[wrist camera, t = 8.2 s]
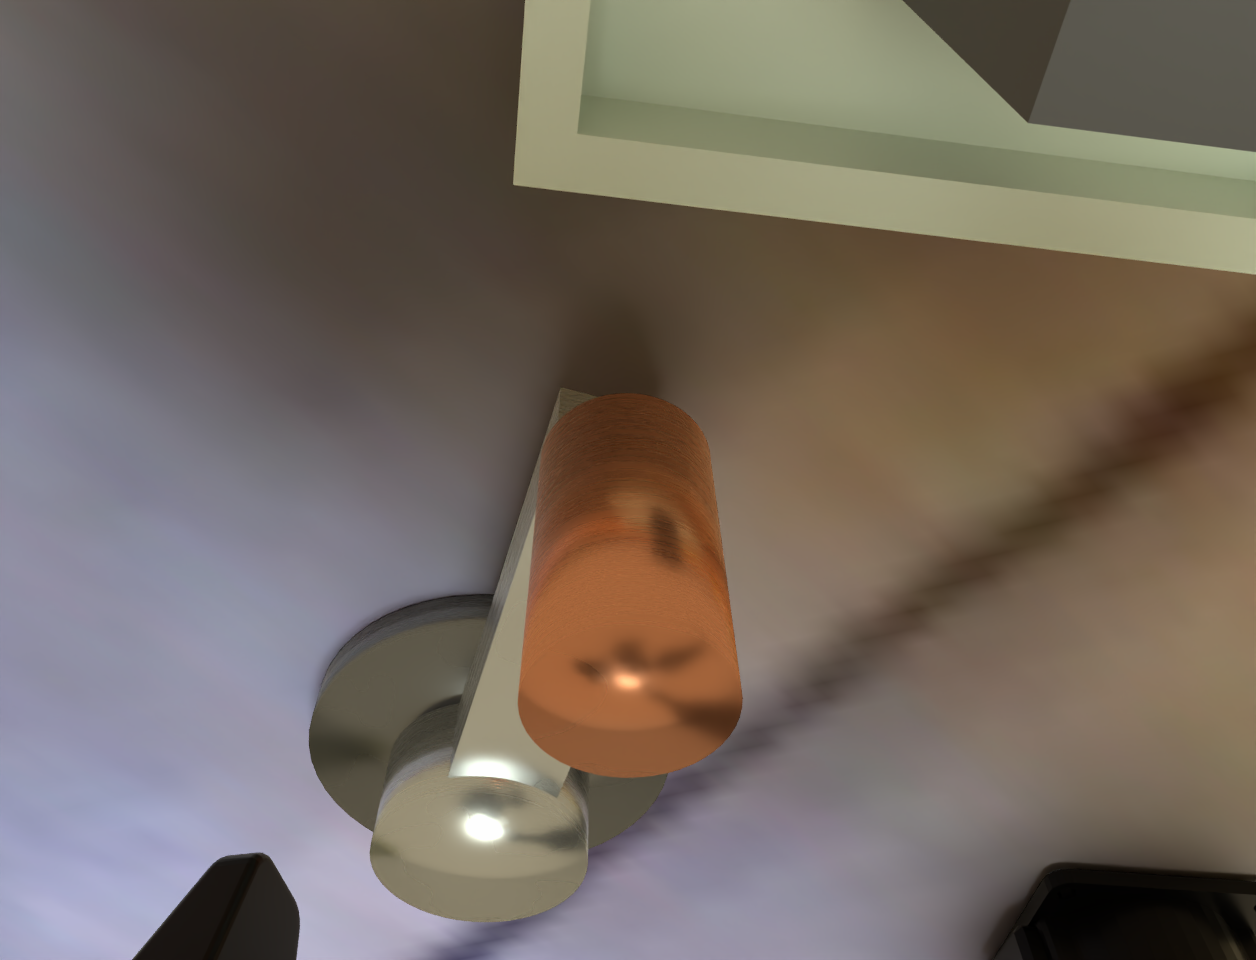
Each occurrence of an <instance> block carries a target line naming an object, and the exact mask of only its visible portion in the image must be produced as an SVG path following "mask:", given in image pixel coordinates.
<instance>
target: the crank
mask: <svg viewBox="0 0 1256 960" xmlns="http://www.w3.org/2000/svg"><path fill="white" fill-rule="evenodd" d="M742 699H743V697H742V690H741V682H740V675H739V667H738V660H737V652H736V645H735V638H734V630H733V623H732V615H731V608H730V600H729V593H728V585H727V578H726V570H725V563H724V555H723V548H722V540H721V533H720V525H719V518H718V510H717V503H716V495H715V488H714V480H713V473H712V465H711V458H710V450H709V447H708V443H707V440H706V438H705V436H704V434H703V432H702V431H701V429H700V428H699V426H698V425H697V424H696V423H695V422H694V420H693V419H692V418H691V417H690V416H688V415H687V414H686V413H685V412H684V411H682V410H681V409H679V408H678V407H676V406H674V405H673V404H671V403H669V402H666V401H664V400H662V399H659V398H656V397H652V396H648V395H643V394H633V393H617V394H610V395H604V396H601V397H598V396H594V395H590V394H586V393H582V392H578V391H574V390H571V389H567V388H563V387H561V388H560V391H559V394H558V397H557V400H556V403H555V407H554V410H553V413H552V416H551V419H550V422H549V425H548V428H547V432H546V435H545V438H544V441H543V444H542V447H541V450H540V453H539V457H538V460H537V463H536V466H535V469H534V472H533V475H532V479H531V482H530V485H529V488H528V491H527V494H526V497H525V500H524V504H523V507H522V510H521V513H520V516H519V519H518V522H517V525H516V529H515V532H514V535H513V538H512V541H511V544H510V547H509V551H508V554H507V557H506V560H505V563H504V566H503V569H502V572H501V576H500V579H499V582H498V585H497V588H496V591H495V594H494V597H493V601H492V604H491V607H490V610H489V613H488V616H487V619H486V622H485V626H484V629H483V632H482V635H481V638H480V641H479V644H478V648H477V651H476V654H475V657H474V660H473V663H472V666H471V669H470V673H469V676H468V679H467V682H466V685H465V688H464V691H463V694H462V698H461V701H460V703H459V704H454V705H450V706H445V707H442V708H439V709H436V710H433V711H431V712H429V713H427V714H425V715H423V716H421V717H419V718H418V719H416V720H414V721H413V722H412V723H411V724H409V725H408V726H407V727H406V728H405V729H404V730H403V731H402V732H401V733H400V734H399V736H398V737H397V739H396V740H395V742H394V744H393V747H392V749H391V753H390V757H389V762H388V767H387V771H386V776H385V781H384V785H383V790H382V795H381V799H380V804H379V809H378V813H377V818H376V823H375V828H374V832H373V837H372V842H371V847H370V861H371V864H372V868H373V870H374V872H375V874H376V876H377V877H378V879H379V880H380V881H381V883H382V884H383V885H384V886H385V887H386V888H387V889H388V890H389V891H390V892H391V893H392V894H394V895H395V896H396V897H398V898H399V899H401V900H402V901H404V902H406V903H407V904H409V905H411V906H413V907H416V908H418V909H420V910H423V911H425V912H428V913H431V914H434V915H438V916H441V917H445V918H450V919H455V920H462V921H471V922H500V921H510V920H515V919H521V918H525V917H529V916H533V915H536V914H539V913H542V912H544V911H547V910H549V909H551V908H553V907H555V906H557V905H558V904H560V903H562V902H563V901H565V900H566V899H567V898H568V897H570V896H571V895H572V894H573V893H574V892H575V891H576V890H577V888H578V887H579V886H580V884H581V883H582V881H583V879H584V877H585V874H586V872H587V865H588V827H589V779H590V773H592V774H596V775H601V776H608V777H620V778H638V777H648V776H655V775H661V774H666V773H669V772H673V771H676V770H680V769H682V768H685V767H687V766H690V765H692V764H694V763H696V762H698V761H700V760H702V759H703V758H705V757H706V756H708V755H709V754H711V753H712V752H714V751H715V750H716V749H717V748H718V747H720V746H721V745H722V744H723V743H724V742H725V740H726V739H727V738H728V737H729V736H730V734H731V733H732V731H733V730H734V728H735V727H736V725H737V722H738V720H739V718H740V714H741V710H742Z"/></svg>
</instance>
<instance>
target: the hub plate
mask: <svg viewBox="0 0 1256 960" xmlns="http://www.w3.org/2000/svg"><path fill="white" fill-rule="evenodd" d="M493 597H494V596H490V595H474V596H457V597H450V598H444V599H438V600H431V601H428V602H424V603H420V604H417V605H413V606H409V607H407V608H404V609H402V610H399V611H397V612H394V613H392V614H389V615H387V616H385V617H383V618H381V619H380V620H378V621H376V622H374V623H372V624H371V625H369V626H368V627H366V628H365V629H363V630H362V631H361V632H359V633H358V634H357V635H355V636H354V637H353V638H352V639H351V640H350V641H349V642H348V643H347V644H346V645H345V646H344V647H343V648H342V649H341V650H340V651H339V653H338V654H337V656H336V657H335V658H334V660H333V661H332V663H331V664H330V666H329V668H328V670H327V673H326V675H325V677H324V679H323V682H322V686H321V689H320V692H319V696H318V699H317V702H316V706H315V709H314V712H313V716H312V721H311V725H310V729H309V749H310V754H311V760H312V763H313V766H314V768H315V771H316V774H317V776H318V778H319V779H320V781H321V783H322V784H323V786H324V788H325V790H326V791H327V792H328V793H329V795H330V796H331V797H332V798H333V800H334V801H335V802H336V803H337V804H338V805H339V806H340V807H341V808H342V809H343V810H344V811H345V812H346V813H347V814H348V815H350V816H351V817H352V818H353V819H355V820H356V821H358V822H359V823H360V824H362V825H363V826H364V827H366V828H368V829H369V830H371V831H373V832H374V828H375V823H376V818H377V813H378V809H379V804H380V799H381V795H382V790H383V785H384V781H385V776H386V771H387V767H388V762H389V757H390V753H391V749H392V747H393V744H394V742H395V740H396V739H397V737H398V736H399V734H400V733H401V732H402V731H403V730H404V729H405V728H406V727H407V726H408V725H409V724H411V723H412V722H413V721H414V720H416V719H418V718H419V717H421V716H423V715H425V714H427V713H429V712H431V711H433V710H436V709H439V708H442V707H445V706H450V705H454V704H459V703H460V701H461V698H462V694H463V691H464V688H465V685H466V682H467V679H468V676H469V673H470V669H471V666H472V663H473V660H474V657H475V654H476V651H477V648H478V644H479V641H480V638H481V635H482V632H483V629H484V626H485V622H486V619H487V616H488V613H489V610H490V607H491V604H492V601H493ZM667 774H668V773H666V774H661V775H655V776H648V777H638V778H620V777H608V776H601V775H596V774H592V773H590V779H589V827H588V849H590V848H592V847H595V846H597V845H599V844H602V843H604V842H606V841H607V840H609V839H611V838H613V837H615V836H616V835H618V834H620V833H621V832H623V831H624V830H625V829H627V828H628V827H630V826H631V825H633V824H634V823H635V822H636V821H637V820H638V819H639V818H640V817H641V816H642V815H643V814H645V813H646V811H647V810H648V809H649V808H650V806H651V805H652V804H653V803H654V801H655V800H656V799H657V797H658V795H659V793H660V791H661V790H662V788H663V786H664V783H665V780H666V777H667Z"/></svg>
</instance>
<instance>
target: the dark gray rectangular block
mask: <svg viewBox="0 0 1256 960" xmlns="http://www.w3.org/2000/svg"><path fill="white" fill-rule="evenodd" d="M903 1H904V2H905V3H906V4H907V5H908V6H909V7H910V8H911V9H912V10H913V11H914V12H915V13H916V14H917V15H918V16H919V17H920V18H921V19H922V20H923V21H924V22H925V23H926V24H927V25H928V26H929V27H930V28H931V29H932V30H933V31H934V32H935V33H936V34H937V35H938V36H939V37H940V38H941V39H942V40H943V41H944V42H946V43H947V44H948V45H949V46H950V47H951V48H952V49H953V50H954V51H955V52H956V53H957V54H958V55H959V56H960V57H961V58H962V59H963V60H964V61H965V62H966V63H967V64H968V65H969V66H970V67H971V68H972V69H973V70H974V71H975V72H976V73H977V74H978V75H979V76H980V77H981V78H982V79H983V80H984V81H985V82H986V83H987V84H988V85H989V86H991V87H992V88H993V89H994V90H995V91H996V92H997V93H998V94H999V95H1000V96H1001V97H1002V98H1003V99H1004V100H1005V101H1006V102H1007V103H1008V104H1009V105H1010V106H1011V107H1012V108H1013V109H1014V110H1015V111H1016V112H1017V113H1018V114H1019V115H1020V116H1021V117H1022V118H1023V119H1024V120H1025V121H1026V122H1027V123H1031V124H1039V125H1047V126H1054V127H1062V128H1070V129H1078V130H1086V131H1094V132H1101V133H1109V134H1117V135H1125V136H1133V137H1141V138H1148V139H1156V140H1164V141H1172V142H1180V143H1188V144H1195V145H1203V146H1211V147H1219V148H1227V149H1235V150H1242V151H1250V152H1256V0H903Z"/></svg>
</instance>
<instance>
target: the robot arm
mask: <svg viewBox="0 0 1256 960" xmlns="http://www.w3.org/2000/svg"><path fill="white" fill-rule="evenodd" d="M299 930H300V917H299V910H298V907H297V904H296V901H295V899H294V897H293V896H292V894H291V892H290V891H289V889H288V887H287V885H286V884H285V882H284V880H283V879H282V877H281V875H280V873H279V872H278V870H277V868H276V866H275V865H274V863H273V861H272V860H271V858H270V857H269V856H267V855H265V854H263V853H249V854H239V855H229V856H225V857H222V858H220V859H219V860H217V861H216V862H215V863H213V864H212V865H211V866H210V868H209V869H208V870H207V871H206V872H205V873H204V875H203V876H202V877H201V878H200V879H199V881H198V882H197V883H196V884H195V885H194V887H193V888H192V889H191V890H190V891H189V892H188V894H187V895H186V896H185V897H184V898H183V900H182V901H181V902H180V903H179V904H178V906H177V907H176V908H175V909H174V910H173V912H172V913H171V914H170V915H169V916H168V918H167V919H166V920H165V921H164V922H163V923H162V925H161V926H160V927H159V928H158V929H157V931H156V932H155V933H154V934H153V935H152V937H151V938H150V939H149V940H148V941H147V943H146V944H145V945H144V946H143V947H142V948H141V950H140V951H139V952H138V953H137V954H136V956H135V957H134V958H133V959H132V960H296V957H297V948H298V940H299ZM993 960H1256V882H1252V881H1237V880H1222V879H1207V878H1193V877H1178V876H1163V875H1148V874H1133V873H1119V872H1104V871H1089V870H1074V869H1061V870H1057V871H1054V872H1052V873H1050V874H1048V875H1047V876H1046V877H1045V878H1044V879H1043V881H1042V882H1041V884H1040V885H1039V887H1038V889H1037V890H1036V892H1035V893H1034V895H1033V897H1032V898H1031V900H1030V901H1029V903H1028V905H1027V906H1026V908H1025V910H1024V911H1023V913H1022V914H1021V916H1020V918H1019V919H1018V921H1017V922H1016V924H1015V926H1014V927H1013V929H1012V930H1011V932H1010V934H1009V935H1008V937H1007V939H1006V940H1005V942H1004V943H1003V945H1002V947H1001V948H1000V950H999V951H998V953H997V955H996V956H995V958H994V959H993Z"/></svg>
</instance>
